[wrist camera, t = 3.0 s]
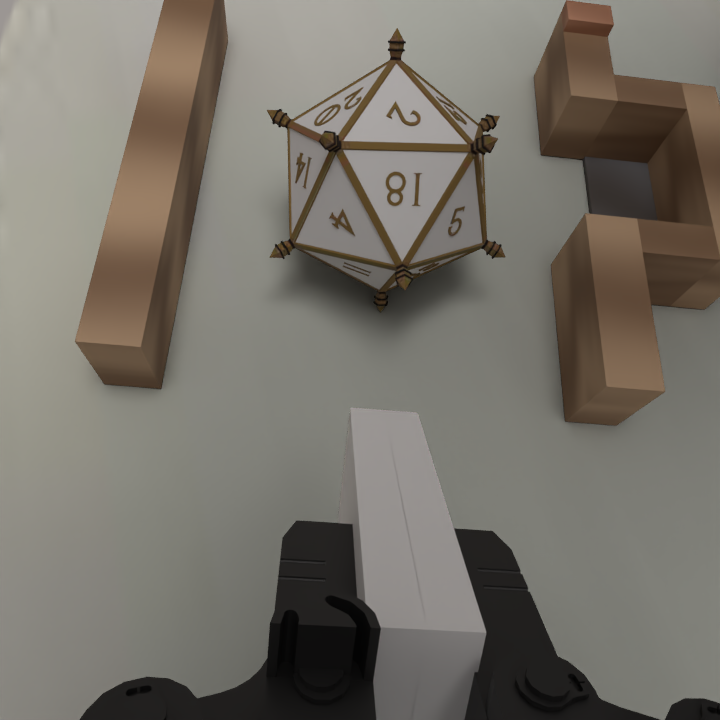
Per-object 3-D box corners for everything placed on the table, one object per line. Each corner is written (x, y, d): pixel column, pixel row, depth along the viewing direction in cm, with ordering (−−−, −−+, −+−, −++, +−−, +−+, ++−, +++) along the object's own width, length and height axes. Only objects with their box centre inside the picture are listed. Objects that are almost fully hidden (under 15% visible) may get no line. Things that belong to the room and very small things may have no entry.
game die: (341, 324, 29) (198, 295, 20) (337, 141, 30) (195, 32, 21) (543, 308, 25) (479, 263, 16) (534, 98, 26) (467, -58, 17)
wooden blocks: (729, 434, 25) (807, 396, 21) (104, 384, 23) (69, 332, 19) (660, 91, 32) (708, 18, 29) (185, 35, 31) (171, -51, 27)
